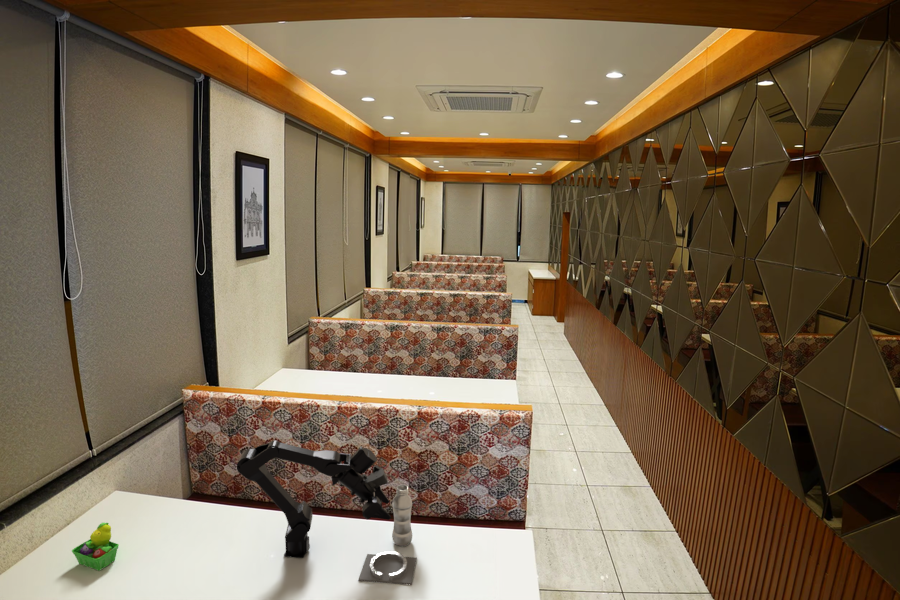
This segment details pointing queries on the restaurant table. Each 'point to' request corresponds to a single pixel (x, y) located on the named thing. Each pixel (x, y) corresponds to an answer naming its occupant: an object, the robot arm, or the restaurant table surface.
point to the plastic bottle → (402, 516)
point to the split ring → (388, 555)
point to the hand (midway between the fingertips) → (389, 510)
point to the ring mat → (388, 570)
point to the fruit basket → (97, 549)
